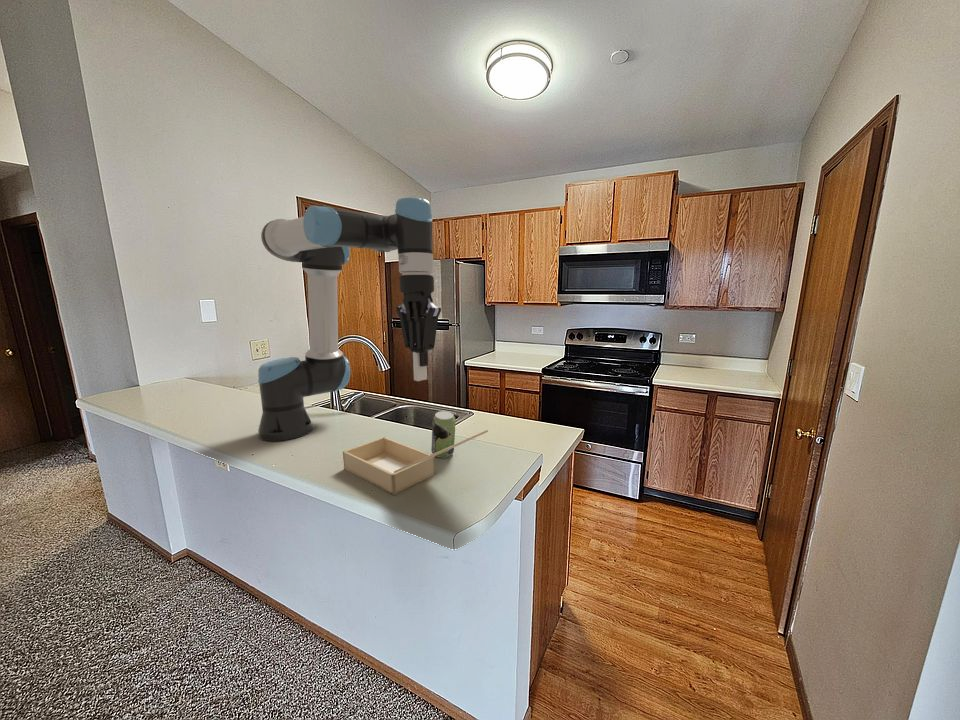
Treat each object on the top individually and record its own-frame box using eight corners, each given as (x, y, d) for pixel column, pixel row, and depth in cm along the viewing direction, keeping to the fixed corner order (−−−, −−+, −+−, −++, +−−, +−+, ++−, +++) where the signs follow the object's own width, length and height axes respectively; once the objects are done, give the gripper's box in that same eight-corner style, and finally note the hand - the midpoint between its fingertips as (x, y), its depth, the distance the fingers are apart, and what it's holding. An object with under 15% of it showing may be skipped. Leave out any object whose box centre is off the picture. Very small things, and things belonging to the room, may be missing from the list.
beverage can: (444, 448, 106) (443, 407, 104) (461, 455, 101) (460, 412, 99) (426, 455, 102) (424, 412, 100) (443, 463, 97) (442, 418, 95)
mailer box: (344, 468, 94) (342, 451, 93) (385, 452, 104) (384, 436, 103) (393, 495, 82) (392, 475, 81) (435, 474, 91) (434, 456, 90)
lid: (447, 447, 69) (448, 450, 69) (487, 429, 77) (488, 432, 77) (393, 471, 81) (394, 473, 81) (433, 453, 90) (434, 455, 90)
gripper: (384, 275, 84) (390, 378, 88) (422, 272, 75) (426, 387, 79) (411, 276, 89) (415, 373, 94) (449, 273, 81) (452, 380, 85)
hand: (420, 379), depth 87 cm, fingers closed
